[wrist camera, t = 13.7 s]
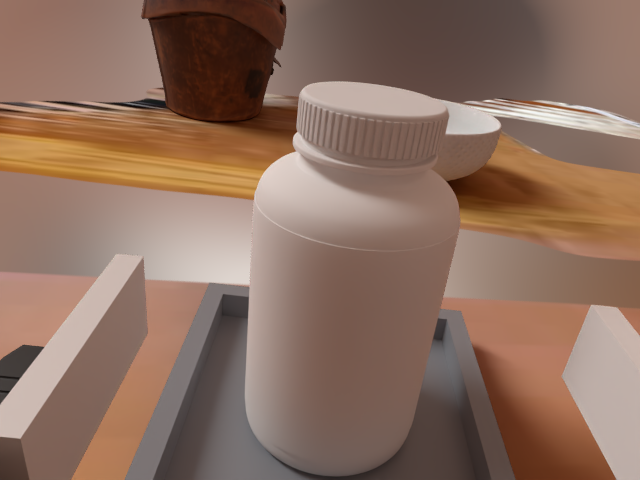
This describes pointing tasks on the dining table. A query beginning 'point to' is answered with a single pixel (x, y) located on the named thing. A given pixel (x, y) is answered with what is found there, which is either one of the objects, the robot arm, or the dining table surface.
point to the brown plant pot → (216, 54)
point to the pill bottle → (347, 277)
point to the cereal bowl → (466, 141)
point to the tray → (269, 472)
